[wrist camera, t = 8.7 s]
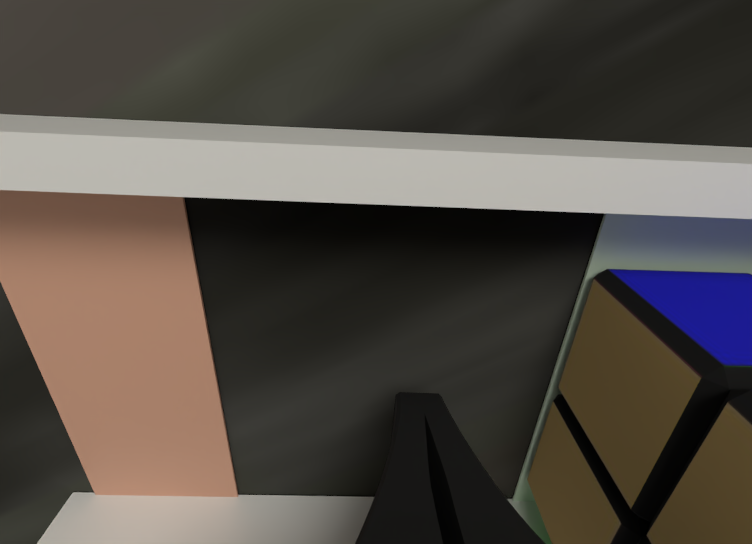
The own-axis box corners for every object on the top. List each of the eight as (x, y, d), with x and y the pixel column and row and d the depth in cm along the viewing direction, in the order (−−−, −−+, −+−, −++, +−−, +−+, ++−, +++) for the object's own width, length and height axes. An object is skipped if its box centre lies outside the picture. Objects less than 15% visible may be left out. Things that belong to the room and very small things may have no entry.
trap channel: (765, 519, 18) (819, 581, 16) (81, 509, 17) (39, 573, 15) (1059, 161, 11) (1235, 184, 9) (-113, 108, 10) (-252, 120, 8)
